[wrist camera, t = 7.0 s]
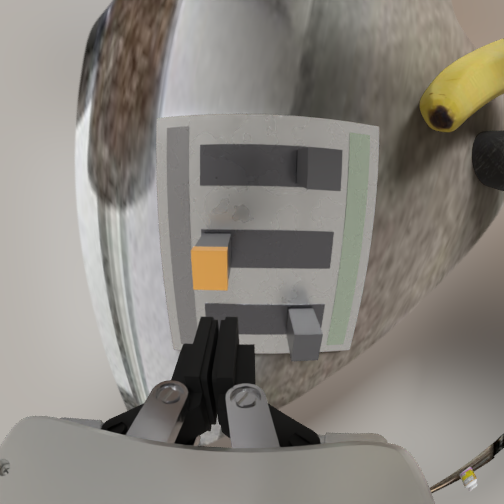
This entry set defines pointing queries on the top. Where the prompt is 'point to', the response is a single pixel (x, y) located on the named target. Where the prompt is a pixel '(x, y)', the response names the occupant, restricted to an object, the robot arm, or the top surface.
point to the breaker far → (303, 334)
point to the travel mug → (489, 158)
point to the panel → (265, 223)
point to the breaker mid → (211, 262)
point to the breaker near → (319, 168)
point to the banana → (464, 88)
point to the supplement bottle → (468, 478)
